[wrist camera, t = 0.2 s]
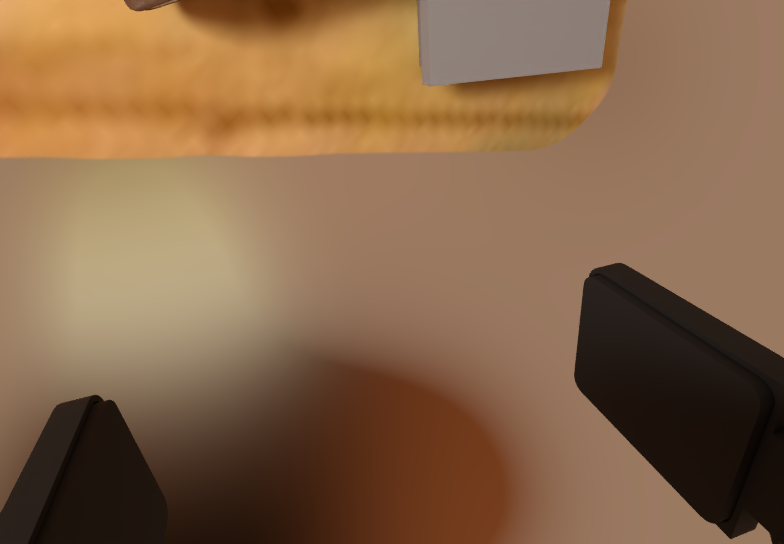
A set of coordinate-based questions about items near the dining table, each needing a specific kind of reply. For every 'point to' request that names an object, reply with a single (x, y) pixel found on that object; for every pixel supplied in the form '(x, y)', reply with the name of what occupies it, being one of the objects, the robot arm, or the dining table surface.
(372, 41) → the dining table surface
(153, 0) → the tin
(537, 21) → the stand
